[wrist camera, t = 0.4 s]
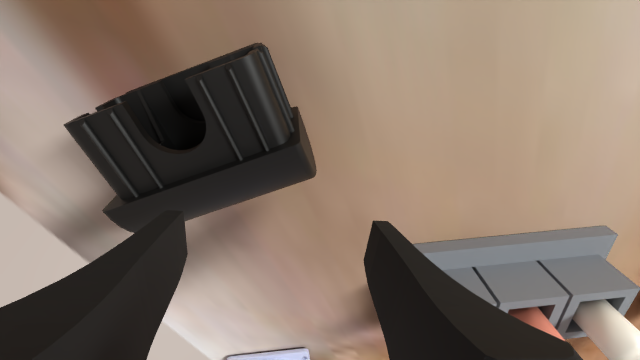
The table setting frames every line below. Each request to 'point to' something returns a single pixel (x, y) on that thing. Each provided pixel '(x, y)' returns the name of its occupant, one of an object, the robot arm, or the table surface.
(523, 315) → the salmon rounded peg
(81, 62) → the table surface
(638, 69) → the table surface
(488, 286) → the socket strip
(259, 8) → the table surface
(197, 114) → the end cap
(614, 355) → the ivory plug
